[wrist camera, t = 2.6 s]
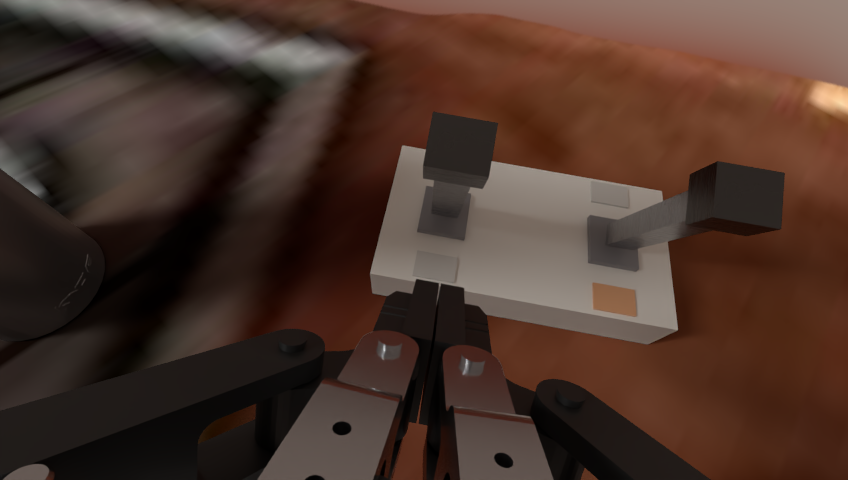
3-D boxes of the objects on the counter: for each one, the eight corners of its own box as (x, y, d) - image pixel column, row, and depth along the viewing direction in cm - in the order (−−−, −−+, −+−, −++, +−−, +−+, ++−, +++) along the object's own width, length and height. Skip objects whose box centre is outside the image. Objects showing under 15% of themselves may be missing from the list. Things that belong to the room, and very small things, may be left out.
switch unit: (372, 293, 34) (369, 270, 30) (401, 174, 39) (402, 141, 35) (647, 344, 33) (682, 328, 29) (637, 216, 39) (665, 187, 35)
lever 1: (423, 219, 31) (422, 165, 19) (429, 185, 32) (433, 111, 19) (463, 226, 31) (488, 177, 19) (469, 192, 32) (497, 123, 19)
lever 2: (597, 250, 31) (712, 216, 19) (601, 216, 31) (717, 161, 19) (638, 258, 31) (781, 229, 19) (642, 223, 31) (784, 173, 19)
